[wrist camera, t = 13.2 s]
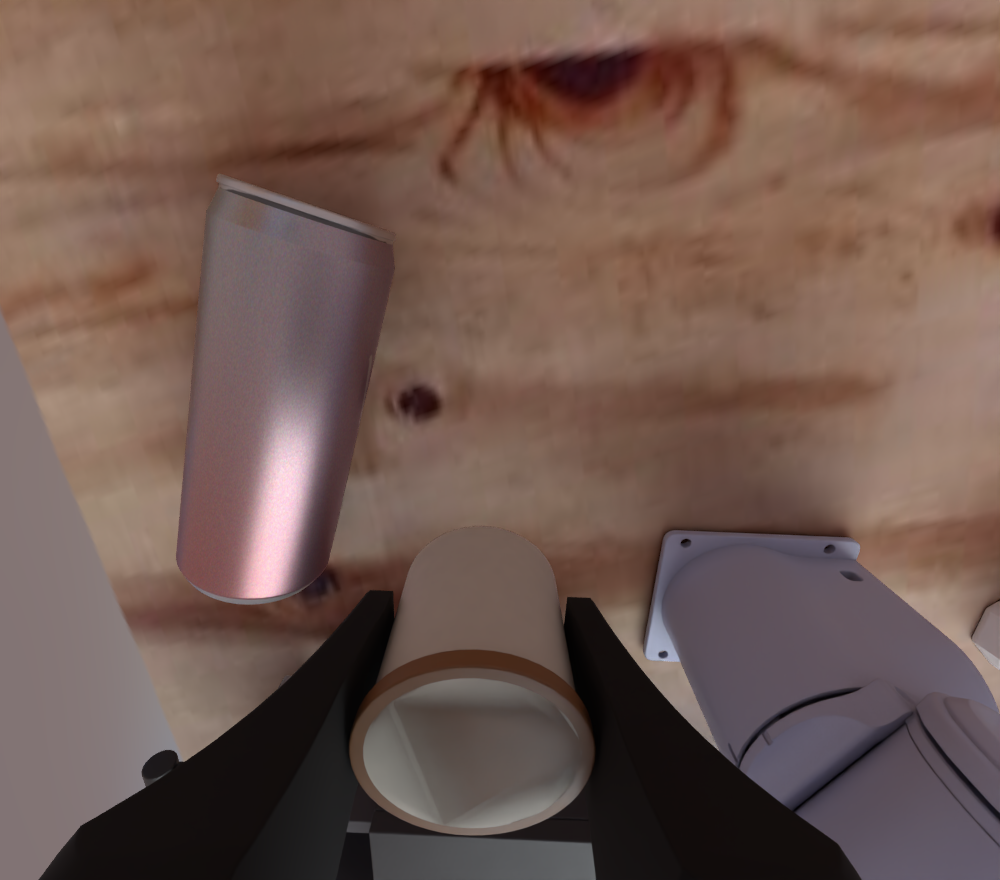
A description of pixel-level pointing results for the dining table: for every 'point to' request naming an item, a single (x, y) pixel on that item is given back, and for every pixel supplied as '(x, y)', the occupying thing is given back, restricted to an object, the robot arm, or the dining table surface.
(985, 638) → the pepper shaker
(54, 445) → the dining table surface
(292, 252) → the beverage can
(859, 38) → the dining table surface
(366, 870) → the drawer
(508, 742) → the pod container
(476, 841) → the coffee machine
